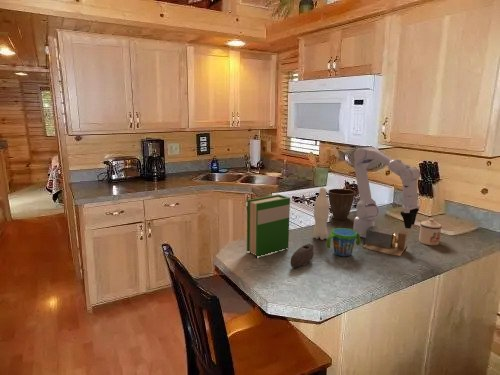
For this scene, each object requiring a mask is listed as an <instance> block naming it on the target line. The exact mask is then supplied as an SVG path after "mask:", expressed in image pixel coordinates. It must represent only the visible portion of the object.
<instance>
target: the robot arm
mask: <svg viewBox="0 0 500 375" xmlns="http://www.w3.org/2000/svg"><path fill="white" fill-rule="evenodd" d="M353 158H354V164H353V167H354V171H355V179H356V183H357V184H356V185H357V190H358V196H359V201H358V202H357V204H356V217H354V220H353V228H352V230H354V231H355V232H357V233H358V234H359V236H360V238H365V239H366V231H367V229H368V228H369V227H370V226H374V227H375V221H376V220H375V219H376V216H378V215H379V212H380V211H379V207H378V206H377V202H376V200H374V199H373V198H372V194H371V193H372V192H371V187H370V182H369V176H368V170H367V167H368V166H369V164H370V163H372V162H373V161H375V160H376V161H378V162H380V163H381V164H382V165H385V166H387V167H388V170H389V171H390V172H392V173H393V174H395V175H397V176H399V178H400V180H401V185H402V205H401V207H402V209H403V211H400V215H401V217H402V220H403V224H404V227H405V229H412V225H415V223H416V218H417V216H418V213H419V210H420V208H421V205H418V180H419V179H420V177H421V171H420V170H419V169H418V168H417V167H415V166H413V167H411V166H410V165H409V164H406V163H405V162H403V161H402V159H400V158H394V159H392V158H391V157H389V156H387V155H386V154H385V153H383V152H382V151H380V150H379V149H378V148H376V147H374V146H370V147H369V146H368V147H358V148H357V149H356V150H355V151H354V152H353Z"/></svg>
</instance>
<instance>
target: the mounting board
mask: <svg viewBox="0 0 500 375" xmlns="http://www.w3.org/2000/svg"><path fill="white" fill-rule="evenodd" d="M407 247H408V245H407V244H406V248H407ZM362 248H363V249H367V250H371V251H375V252H379V253H380V252H381V253H384V254H389V255H393V256H396V257H397V256H398V257H400V256H402V254H403V253H404V252H405V250H406V248H405V249H399V248H397V244H396V247H395V248H394V247H392V248H391V249H390V250H389V249H385V248H380V247H376V246H371V245H367V244H364V245H363V246H362Z"/></svg>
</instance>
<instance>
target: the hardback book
mask: <svg viewBox="0 0 500 375" xmlns="http://www.w3.org/2000/svg"><path fill="white" fill-rule="evenodd" d="M246 203H247V204H246V252H247V251H250V252H252V253H254V254H256V256H261V255H265V254H268V253H271V252H275V251H279V250H282V249H286V248H288V249H289V238H290V214H291V213H290V211H291V210H290V208H291V207H290V206H291V197H289V196H285V195H282V194H272V195H268V196H262V197H256V198H251V199H246ZM252 253H251V254H252ZM254 254H253V255H254ZM256 256H255V257H256Z"/></svg>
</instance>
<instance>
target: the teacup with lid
mask: <svg viewBox="0 0 500 375" xmlns="http://www.w3.org/2000/svg"><path fill="white" fill-rule="evenodd" d="M419 225H420V226H419V236H418V241H419V243H421V244H424V245H427V246H437V245H439V244H440V238H441V231H442V228H443V227H442V224H440V223H439V222H437V221H435V219H434V218H429V220H423V221H421V222H420V224H419Z"/></svg>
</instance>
